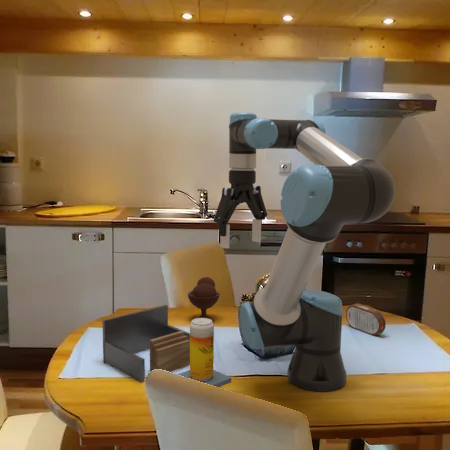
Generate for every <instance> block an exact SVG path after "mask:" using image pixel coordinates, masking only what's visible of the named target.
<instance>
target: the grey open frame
mask: <svg viewBox="0 0 450 450" xmlns="http://www.w3.org/2000/svg"><path fill="white" fill-rule="evenodd" d="M168 308H169V305H168V304H163V305H159V306H154V307H151V308H147V309H142V310H138V311H135V312H130V313H126V314H122V315H118V316H114V317H110V318H104V319H102V355H103V360H102V361H103V363H106V364H108V365H109V366H111V367H113V368H115V369H116V370H117V371H120V372H122V373H124V374H125V375H128V376H129V377H130V378H132V379H135V380H136V381H138V382H139V383H144V382H145V381H144V379H146V378H145V377H146V374H145V372H146V369H145V368H146V365H145V358H143V357H141V356H139V355H137V353H141V352H144V351H147V350H150V340H151V339H155V338H158V337H161V336H165V335H168V334H172V333H175V332H179V331H184V332H185V335H186V336H187V340H189V341H190V332H187V331H185V330H183V329H180V328H178V327H175V326H172V325H170V324H169V309H168Z"/></svg>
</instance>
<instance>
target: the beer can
mask: <svg viewBox="0 0 450 450" xmlns="http://www.w3.org/2000/svg"><path fill="white" fill-rule="evenodd" d="M211 319H212V318H211ZM211 319H208V318H197V317H196V318H194V319H192V320H191V322H190V325H189V333H190V365H189V370H190V376H191V377H192V379H194V380H197V381H207V380H209V379H211V377H212V376H213V370H214V360H215V359H214V357H215V356H214V355H215V353H214V343H215V342H214V341H215V339H214V337H215V332H214V331H215V330H214V329H215V324H214V323H213V320H211Z"/></svg>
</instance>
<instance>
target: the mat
mask: <svg viewBox="0 0 450 450" xmlns="http://www.w3.org/2000/svg"><path fill="white" fill-rule="evenodd" d="M177 374H178V375H181V376H184V377H187V378H191V379H192V377H191V376H190V369H189V370H186V371H183V372H181V373H180V372H179V373H177ZM200 382H203V383H207V384H210V385H213V386H217V387H216V388H218V387H219V388H220V387H221V386H223V385H225V384H229V383H231V382H232V377H231V376H228V375H227V374H225V373H222V372H220V371H217V370H215V369H213V376H212V377H211V379H209V380H207V381H200Z"/></svg>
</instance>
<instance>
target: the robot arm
mask: <svg viewBox="0 0 450 450" xmlns="http://www.w3.org/2000/svg"><path fill="white" fill-rule="evenodd" d="M228 133H229V134H228V135H229V136H228V138H229V139H228V147H229V148H228V149H229V151H228V152H229V153H228V156H229V159H228V160H229V161H228V167H229V169H230V170H229V171H228V183H229V184H230V187H222V192H221V196H220V200H219V203H218V205H217V209H216V212H215V215H214V216H213V223H216V224H219V226H218V227H219V229H218V231H219V237H220V238H219V239H220V241H219V242H220V243H219V247H220V248H223V249H230V238H231V237H230V235H231V234H230V232H231V230H230V229H231V228H230V227H231V225H230V224H229V221H230V220H231V218H232V217H233V214H234V213H235V210H236V208H237V207H238V206H239V205H240V204H244V203H245V204H246V206H247V207H248V209H249V211H250V212H251V215H252V216H253V217H254V218H252V219H251V220H252V222H251V223H252V224H251V225H252V227H251V241H252V242H256V243H261V242H262V228H263V220H266V217H267V216H268V212H267V210H266V208H267V207H266V205H265V202H264V199H263V195H262V187H261V186H260V185H255V183H256V181H257V180H256V179H257V178H256V177H257V172H256V171H255V169H256V168H257V150H260V149H261V150H265V149H269V150H270V149H271V150H272V149H279V150H280V149H288V150H291V149H292V150H297V151H298V152H299V153H300V154H301V155H303V156H304V157H305V158H307V159H308V161H309V162H312V163H313V164H311V165H305V166H304V165H303V166H298V167H296V168H295V169H294V170H292V171H291V172H290V173H289V175H288V176H287V177H286V179H285V181H284V183H283V185H282V189H281V194H280V195H281V199H280V210H281V214H282V216H283V218H284V220H285V224H286V225H287V230H286V232H285V235H284V237H283V241H282V243H281V245H280V248H279V250H278V252H277V256H276V258H275V261H274V263H273V265H272V269H271V271H270V273H269V277H268V279H267V281H266V284H265V286H264V287H262V288H260V289H259V290H258V291H257V292H256V294H255V296H254V297H253V300H252V301H249V300H248V301H245V302H242V303H241V305H240V308H239V321H240V328H241V333H242V337H243V340H244V341H245V344H246V345H247V346H248V347H249V348H251V349H252V350H261V349H262V350H266V349H272V348H274V349H275V348H279V347H289V346H295V347H294V350H293V354H292V356H291V358H290V362H289V365H288V367H287V379H288V381H289V383H291V384H292V385H293V386H295V387H297V388H300V389H303V390H308V391H312V392H313V391H314V392H333V391H336V390H340V389H341V388H343V387H344V386H345V385H346V384H347V370H346V369H345V364H344V361H343V357H342V353H341V345H342V327H343V326H342V325H343V324H342V323H343V316H344V314H343V313H344V312H343V302H342V299H341V298H340V297H339V296H337V295H335V294H332V293H330V292H327V291H323V290H318V289H317V290H316V289H309V288H308V289H306V287H307V286H308V283H309V281H310V278H311V277H312V275H313V272H314V270H315V268H316V266H317V264H318V261H319V259H320V258H321V255H322V253H323V251H324V249H325V247H326V244H327V243H331V242H333V241H335V240H336V239H337V238H338V236H339V234H340V232H341V230H342V228H343V226H344V225H351V224H367V223H372V222H374V221H376V220H379V219H380V218H381V217H383V216H384V215H385V214H386V213H387V212H388V211H389V210H390V209H391V207H392V205H393V204H394V201H395V197H396V182H395V181H394V178H393V175H392V174H391V172H390V171H389V170H388V169H386V168H385V167H384V166H383V165H382V164H380V163H379V162H377V161H375V160H374V159H372V158H362V157H361V156H360V155H358V154H356V153H355V152H354V151H352V150H350V149H349V148H347V147H346V146H344V145H343V144H341V142H338V141H337V140H336V139H334V138H332V137H331V136H330V135H328V134H326V128H325V127H324V124H323V123H322V122H321V121H319V120H312V119H305V120H304V119H275V118H274V119H270V118H269V119H268V118H264V117H258V116H257V114H256V113H254V112H233V113H231V114H230V116H229V124H228Z"/></svg>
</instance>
